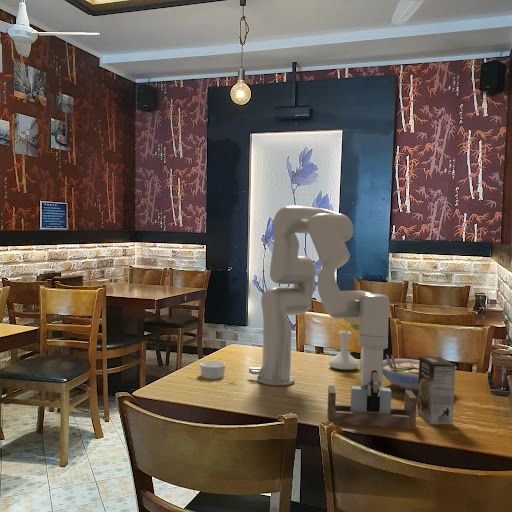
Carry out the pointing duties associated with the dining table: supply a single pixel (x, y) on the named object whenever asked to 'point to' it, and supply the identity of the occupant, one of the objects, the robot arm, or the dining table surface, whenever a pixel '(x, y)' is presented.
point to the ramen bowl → (402, 372)
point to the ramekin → (212, 369)
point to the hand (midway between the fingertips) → (370, 405)
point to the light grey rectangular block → (360, 400)
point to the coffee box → (436, 389)
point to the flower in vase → (345, 349)
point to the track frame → (394, 419)
